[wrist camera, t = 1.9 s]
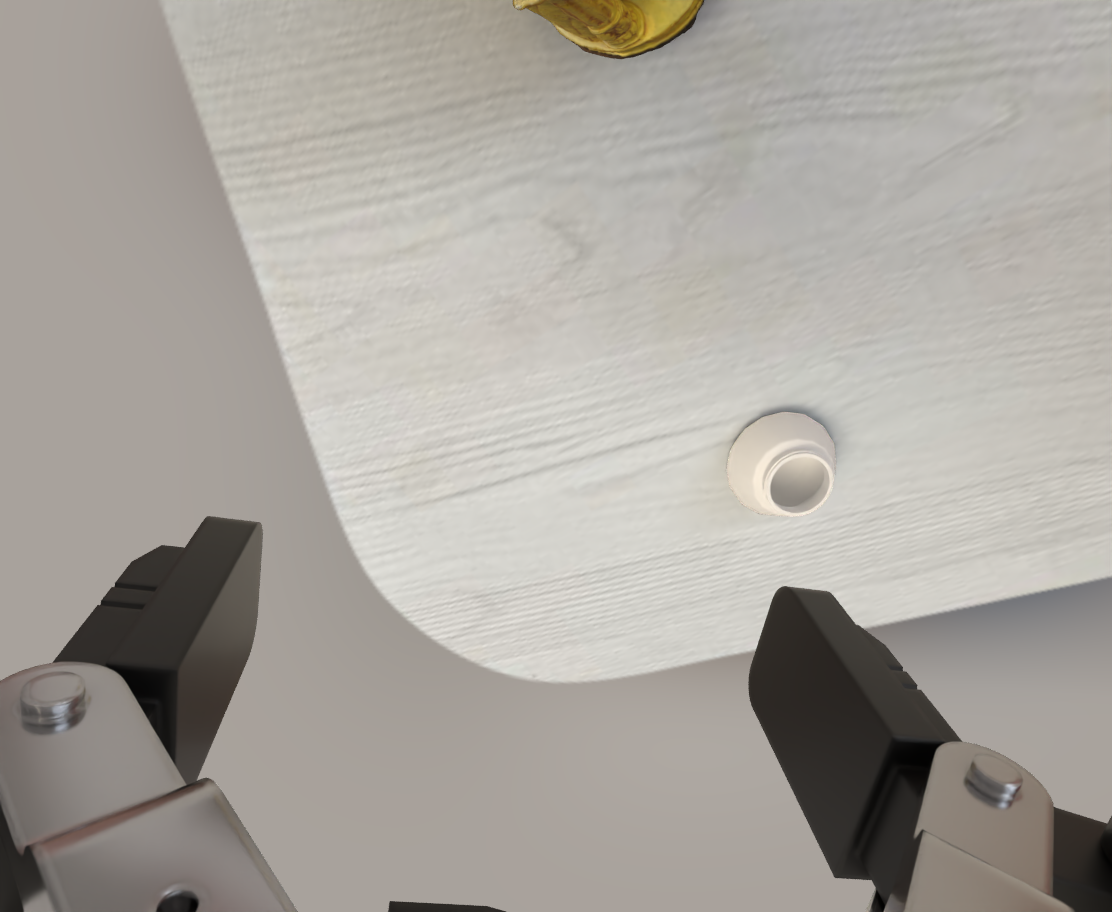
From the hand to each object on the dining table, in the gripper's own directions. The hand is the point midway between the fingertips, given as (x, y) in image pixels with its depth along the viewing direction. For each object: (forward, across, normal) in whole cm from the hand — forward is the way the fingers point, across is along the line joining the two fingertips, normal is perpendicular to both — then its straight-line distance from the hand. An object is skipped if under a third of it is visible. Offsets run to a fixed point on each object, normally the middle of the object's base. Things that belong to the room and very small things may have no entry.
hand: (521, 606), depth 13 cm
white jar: (+24, -14, +5) cm, 28 cm away
